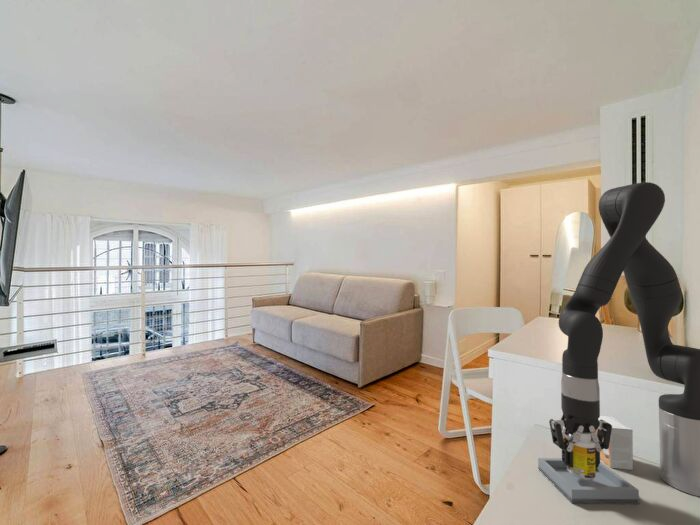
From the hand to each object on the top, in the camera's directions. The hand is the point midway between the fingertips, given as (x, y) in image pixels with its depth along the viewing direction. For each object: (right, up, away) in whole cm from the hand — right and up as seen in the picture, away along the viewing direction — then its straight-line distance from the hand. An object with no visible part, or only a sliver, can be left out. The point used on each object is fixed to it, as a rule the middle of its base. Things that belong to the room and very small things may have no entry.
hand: (580, 465), depth 76 cm
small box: (+16, -6, +11) cm, 20 cm away
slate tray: (+1, -5, 0) cm, 5 cm away
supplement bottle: (0, -2, 0) cm, 2 cm away
